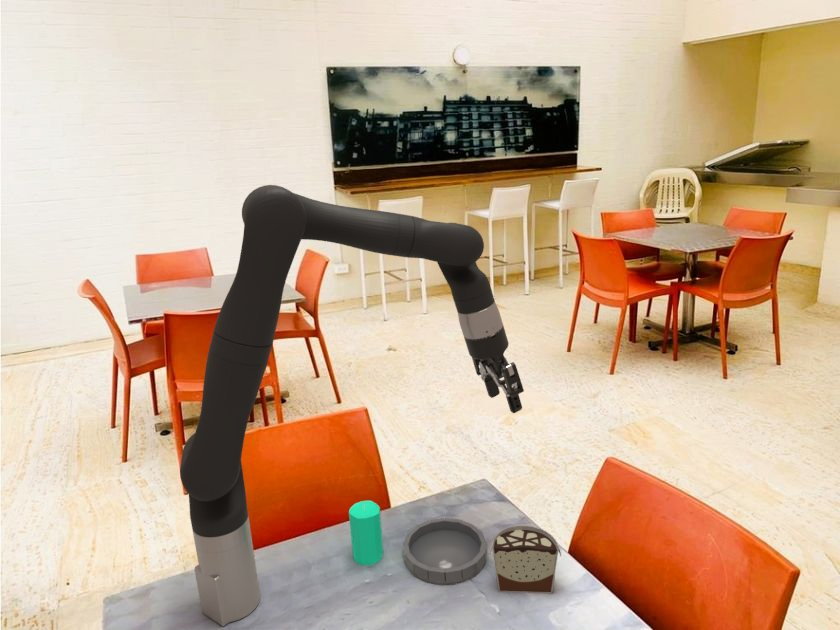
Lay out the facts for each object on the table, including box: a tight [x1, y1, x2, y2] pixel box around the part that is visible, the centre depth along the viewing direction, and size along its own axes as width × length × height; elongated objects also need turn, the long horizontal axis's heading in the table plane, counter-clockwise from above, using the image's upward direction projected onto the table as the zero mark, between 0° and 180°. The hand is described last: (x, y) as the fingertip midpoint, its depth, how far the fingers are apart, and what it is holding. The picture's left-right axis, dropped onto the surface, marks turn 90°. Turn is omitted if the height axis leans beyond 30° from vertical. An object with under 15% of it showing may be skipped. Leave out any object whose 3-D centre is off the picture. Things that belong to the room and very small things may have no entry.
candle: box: [348, 500, 384, 566], centre depth 116 cm, size 6×6×12 cm
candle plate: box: [402, 517, 488, 586], centre depth 116 cm, size 16×16×3 cm
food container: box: [489, 525, 562, 595], centre depth 108 cm, size 12×6×10 cm, turn 84°
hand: (505, 403), depth 114 cm, fingers open, 8 cm apart
